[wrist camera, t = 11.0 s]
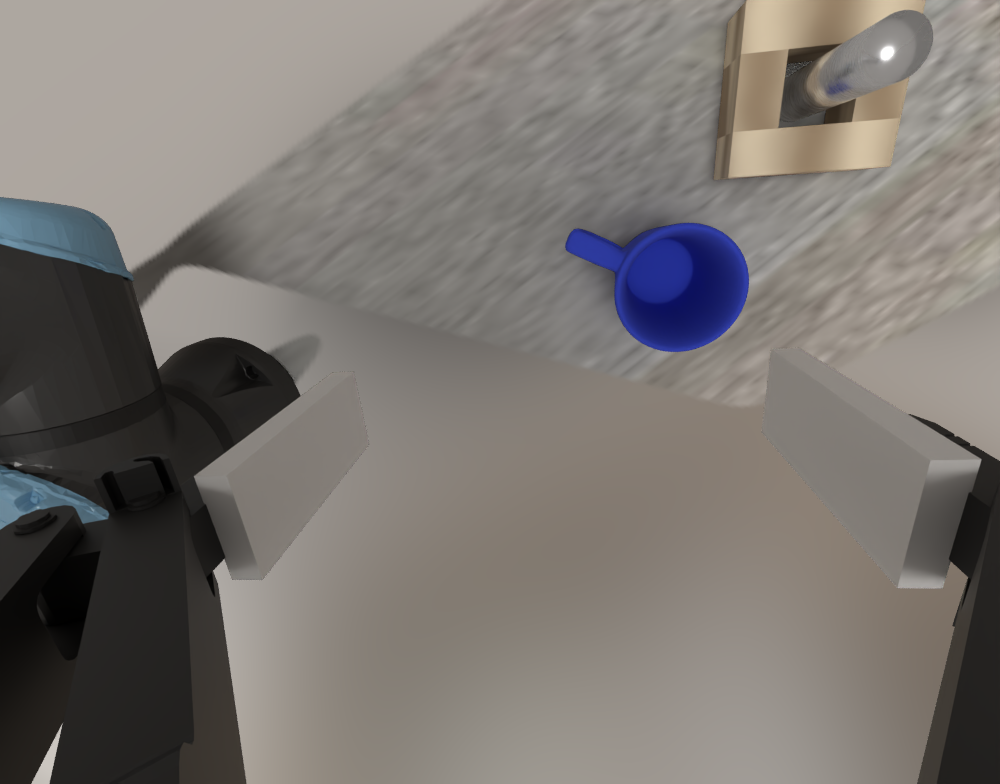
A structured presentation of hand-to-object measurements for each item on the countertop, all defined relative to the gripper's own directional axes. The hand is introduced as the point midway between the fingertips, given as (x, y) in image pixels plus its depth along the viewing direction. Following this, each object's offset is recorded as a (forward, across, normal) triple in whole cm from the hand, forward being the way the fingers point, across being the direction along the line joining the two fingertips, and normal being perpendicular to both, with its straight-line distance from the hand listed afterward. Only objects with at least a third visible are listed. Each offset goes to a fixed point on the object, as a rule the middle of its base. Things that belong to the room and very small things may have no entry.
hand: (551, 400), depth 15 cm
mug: (+28, +7, +1) cm, 29 cm away
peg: (+27, +17, +11) cm, 34 cm away
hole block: (+27, +17, +11) cm, 34 cm away
